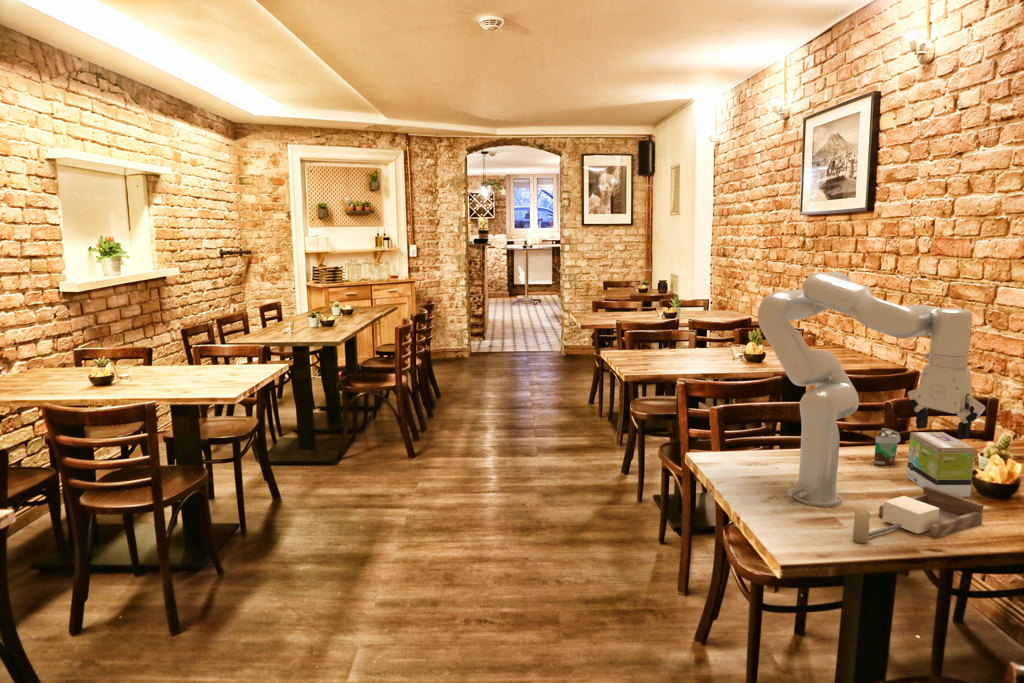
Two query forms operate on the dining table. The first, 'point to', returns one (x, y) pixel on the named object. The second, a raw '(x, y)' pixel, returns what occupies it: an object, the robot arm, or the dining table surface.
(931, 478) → the tea box
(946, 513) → the wooden frame
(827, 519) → the dining table surface
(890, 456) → the food container
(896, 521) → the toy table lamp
